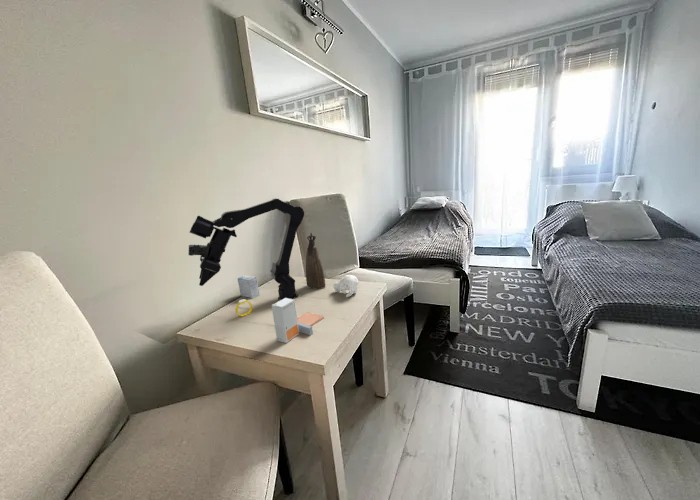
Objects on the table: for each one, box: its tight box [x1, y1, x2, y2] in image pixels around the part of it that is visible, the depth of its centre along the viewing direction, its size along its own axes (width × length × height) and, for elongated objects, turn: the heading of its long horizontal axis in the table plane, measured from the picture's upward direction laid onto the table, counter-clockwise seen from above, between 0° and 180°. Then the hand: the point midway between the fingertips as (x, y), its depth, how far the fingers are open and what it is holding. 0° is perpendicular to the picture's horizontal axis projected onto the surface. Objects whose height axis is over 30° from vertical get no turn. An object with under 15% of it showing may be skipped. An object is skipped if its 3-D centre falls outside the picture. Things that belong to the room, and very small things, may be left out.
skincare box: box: [271, 298, 300, 344], centre depth 90 cm, size 6×4×12 cm
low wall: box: [298, 322, 314, 336], centre depth 96 cm, size 1×14×2 cm, turn 52°
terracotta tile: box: [297, 311, 325, 327], centre depth 101 cm, size 8×8×1 cm
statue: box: [305, 232, 326, 290], centre depth 131 cm, size 9×8×25 cm
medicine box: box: [237, 274, 261, 299], centre depth 130 cm, size 8×4×9 cm, turn 58°
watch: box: [235, 298, 253, 317], centre depth 111 cm, size 6×3×6 cm, turn 133°
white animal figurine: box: [333, 274, 360, 298], centre depth 121 cm, size 6×8×12 cm
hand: (200, 282), depth 107 cm, fingers open, 9 cm apart
